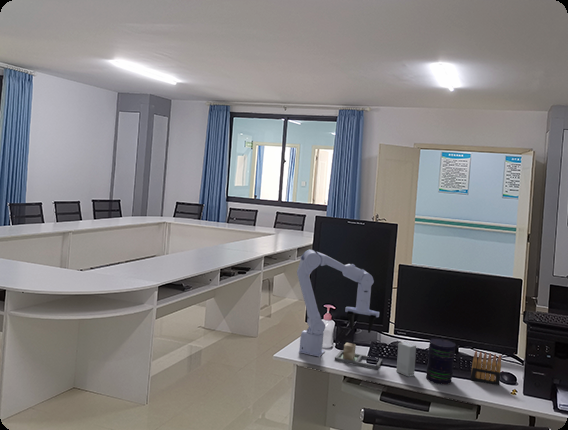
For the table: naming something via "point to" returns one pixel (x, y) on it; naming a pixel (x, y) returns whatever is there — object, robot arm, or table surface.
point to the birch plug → (349, 351)
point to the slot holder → (357, 360)
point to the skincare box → (406, 358)
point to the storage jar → (440, 361)
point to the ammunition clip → (486, 369)
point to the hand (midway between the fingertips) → (360, 330)
